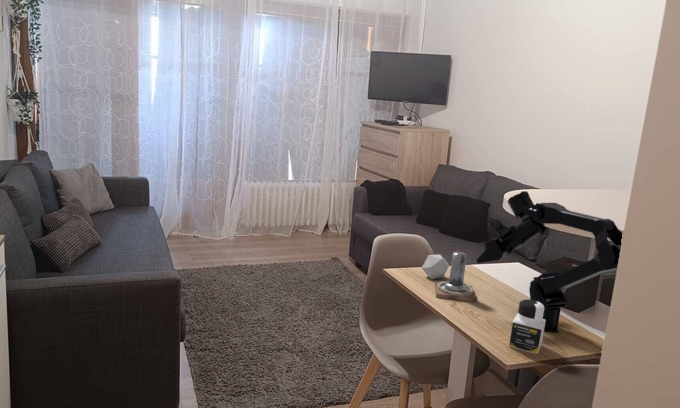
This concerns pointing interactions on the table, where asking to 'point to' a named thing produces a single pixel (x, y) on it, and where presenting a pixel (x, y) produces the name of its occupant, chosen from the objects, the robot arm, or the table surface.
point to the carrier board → (454, 293)
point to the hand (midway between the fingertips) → (482, 258)
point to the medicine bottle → (528, 327)
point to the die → (435, 266)
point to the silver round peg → (457, 273)
